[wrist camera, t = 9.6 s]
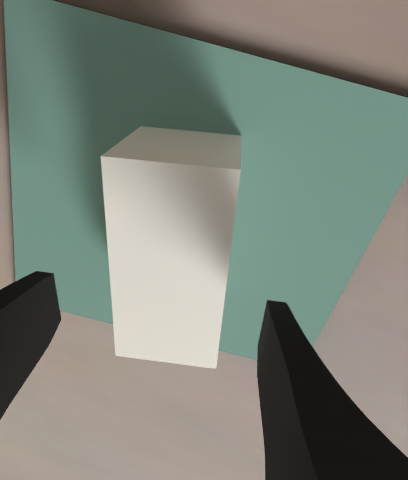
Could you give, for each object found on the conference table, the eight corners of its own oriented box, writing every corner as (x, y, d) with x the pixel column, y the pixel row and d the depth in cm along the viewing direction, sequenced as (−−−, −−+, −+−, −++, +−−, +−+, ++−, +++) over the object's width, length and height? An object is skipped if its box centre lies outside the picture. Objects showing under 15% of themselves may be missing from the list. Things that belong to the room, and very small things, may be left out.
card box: (222, 297, 20) (216, 368, 15) (143, 288, 20) (115, 355, 16) (241, 135, 15) (241, 169, 11) (140, 126, 16) (100, 156, 11)
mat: (436, 105, 14) (444, 107, 14) (297, 362, 22) (298, 370, 22) (11, -12, 14) (2, -14, 13) (21, 293, 22) (16, 299, 21)
